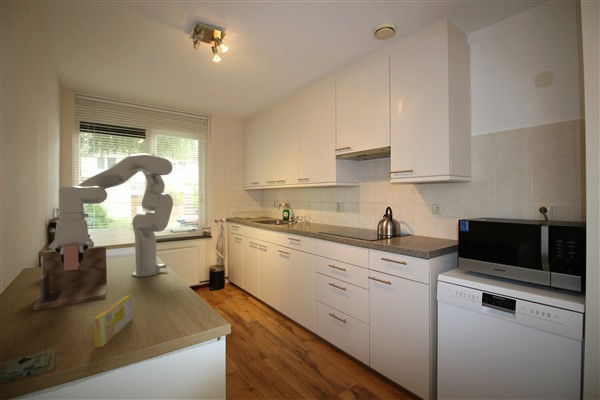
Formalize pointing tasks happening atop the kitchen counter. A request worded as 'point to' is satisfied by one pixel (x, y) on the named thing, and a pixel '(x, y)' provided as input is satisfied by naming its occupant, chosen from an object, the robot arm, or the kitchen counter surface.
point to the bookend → (47, 290)
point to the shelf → (76, 278)
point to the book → (71, 257)
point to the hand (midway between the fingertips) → (72, 262)
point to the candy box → (112, 320)
